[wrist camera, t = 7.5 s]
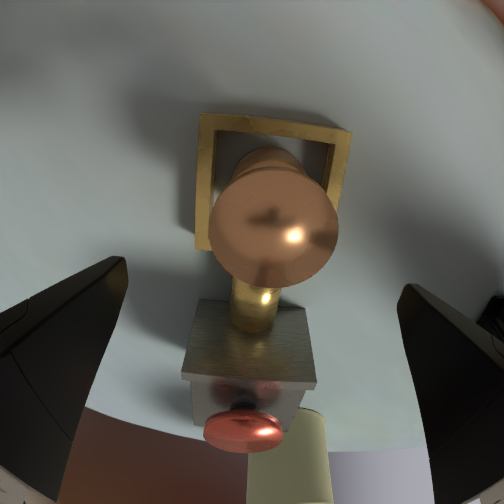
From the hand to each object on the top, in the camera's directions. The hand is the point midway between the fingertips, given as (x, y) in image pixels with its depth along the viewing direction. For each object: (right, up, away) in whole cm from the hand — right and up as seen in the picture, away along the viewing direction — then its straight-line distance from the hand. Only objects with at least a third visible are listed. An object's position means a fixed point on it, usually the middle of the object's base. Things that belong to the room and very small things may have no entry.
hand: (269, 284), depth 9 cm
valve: (-1, -4, +14) cm, 15 cm away
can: (+4, -20, +23) cm, 31 cm away
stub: (0, +5, +9) cm, 11 cm away
